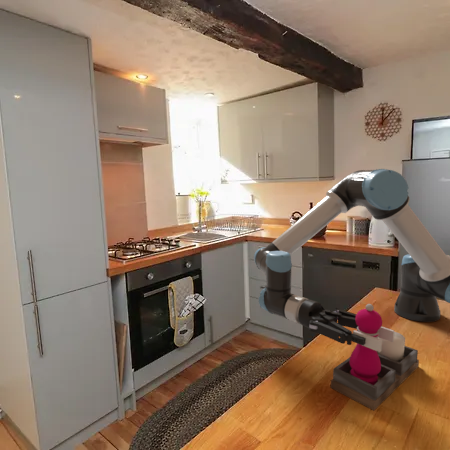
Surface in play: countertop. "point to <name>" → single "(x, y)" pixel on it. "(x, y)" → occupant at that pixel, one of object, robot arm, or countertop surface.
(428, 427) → the countertop surface
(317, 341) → the countertop surface
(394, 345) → the white glossy dome
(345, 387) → the two-compartment tray
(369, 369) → the pepper mill
